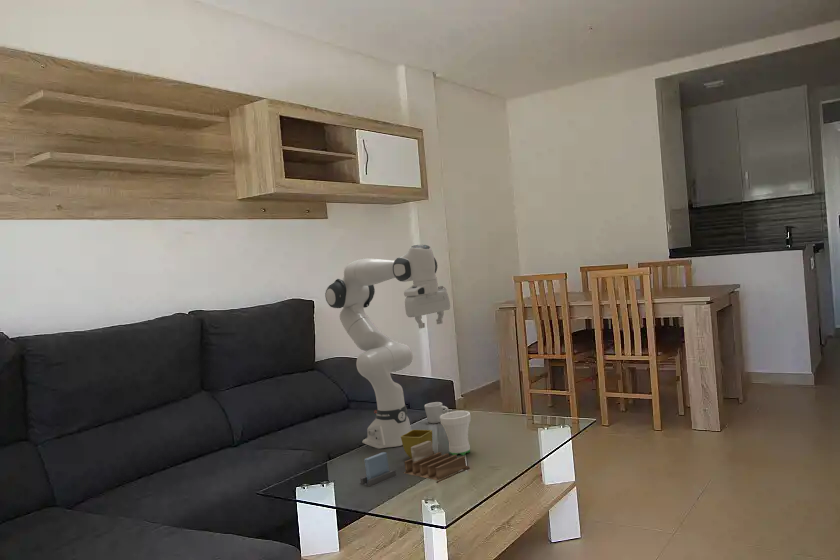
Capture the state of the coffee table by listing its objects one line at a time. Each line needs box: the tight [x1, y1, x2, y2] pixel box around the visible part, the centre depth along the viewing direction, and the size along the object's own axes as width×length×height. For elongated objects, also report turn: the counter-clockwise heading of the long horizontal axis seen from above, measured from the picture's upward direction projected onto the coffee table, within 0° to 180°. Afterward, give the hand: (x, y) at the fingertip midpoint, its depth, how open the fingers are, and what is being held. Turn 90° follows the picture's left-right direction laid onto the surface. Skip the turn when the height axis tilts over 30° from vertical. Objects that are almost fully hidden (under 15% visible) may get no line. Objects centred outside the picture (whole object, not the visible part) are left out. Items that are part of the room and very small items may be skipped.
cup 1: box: [424, 401, 450, 424], centre depth 296 cm, size 11×8×8 cm
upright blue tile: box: [363, 451, 390, 483], centre depth 224 cm, size 2×8×8 cm, turn 133°
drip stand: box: [359, 469, 398, 488], centre depth 224 cm, size 7×11×3 cm, turn 133°
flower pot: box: [401, 429, 433, 459], centre depth 246 cm, size 9×9×9 cm
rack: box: [402, 440, 470, 484], centre depth 227 cm, size 17×15×9 cm
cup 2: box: [440, 410, 472, 456], centre depth 245 cm, size 11×11×14 cm
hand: (431, 326), depth 247 cm, fingers open, 8 cm apart
